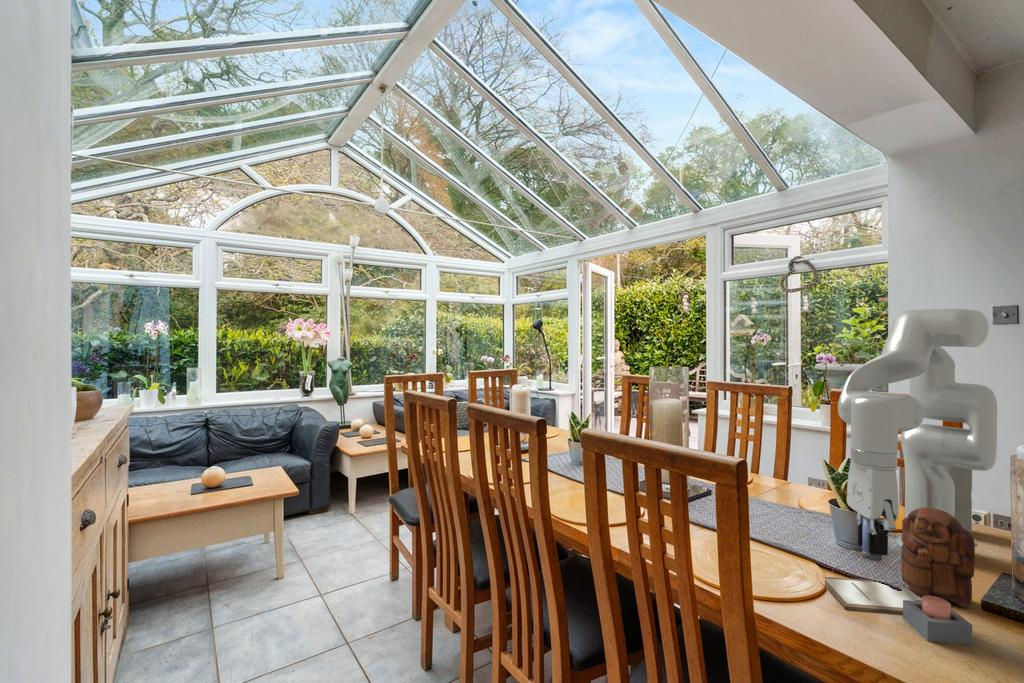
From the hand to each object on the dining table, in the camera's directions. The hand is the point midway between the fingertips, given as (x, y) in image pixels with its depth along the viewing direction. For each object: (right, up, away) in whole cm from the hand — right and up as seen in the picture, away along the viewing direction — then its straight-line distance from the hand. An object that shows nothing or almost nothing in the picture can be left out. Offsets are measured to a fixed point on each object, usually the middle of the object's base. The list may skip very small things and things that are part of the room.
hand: (872, 549), depth 97 cm
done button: (+6, -10, -8) cm, 14 cm away
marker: (0, -2, 0) cm, 2 cm away
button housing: (+6, -12, -8) cm, 15 cm away
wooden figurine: (+16, -12, +4) cm, 21 cm away
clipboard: (+3, -12, +4) cm, 13 cm away
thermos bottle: (+49, -11, +37) cm, 62 cm away
